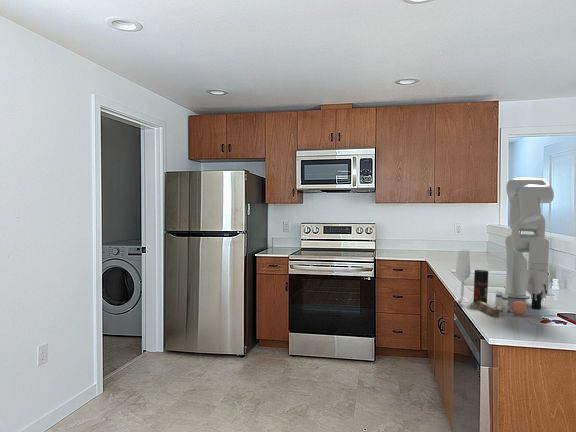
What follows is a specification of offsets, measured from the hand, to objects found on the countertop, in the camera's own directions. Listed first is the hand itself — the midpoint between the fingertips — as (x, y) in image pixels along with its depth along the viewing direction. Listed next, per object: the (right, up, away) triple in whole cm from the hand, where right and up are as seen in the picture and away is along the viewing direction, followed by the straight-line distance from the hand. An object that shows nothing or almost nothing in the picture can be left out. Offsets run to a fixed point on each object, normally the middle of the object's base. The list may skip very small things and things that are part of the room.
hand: (536, 309), depth 195 cm
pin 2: (-15, -1, -3) cm, 16 cm away
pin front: (-12, 0, -1) cm, 12 cm away
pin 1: (-15, -1, +2) cm, 16 cm away
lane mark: (-8, -1, 0) cm, 8 cm away
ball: (-10, +2, -5) cm, 11 cm away
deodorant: (-17, -1, +17) cm, 24 cm away
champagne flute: (-24, 0, +21) cm, 32 cm away
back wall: (-22, -1, -1) cm, 22 cm away
